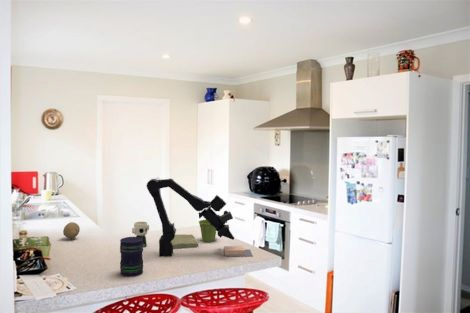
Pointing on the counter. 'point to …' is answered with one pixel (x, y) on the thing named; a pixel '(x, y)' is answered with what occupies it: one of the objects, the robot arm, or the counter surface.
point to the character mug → (141, 230)
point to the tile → (234, 250)
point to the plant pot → (207, 231)
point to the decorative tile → (184, 241)
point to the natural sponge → (71, 230)
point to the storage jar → (131, 256)
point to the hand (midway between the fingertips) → (233, 238)
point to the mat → (247, 254)
